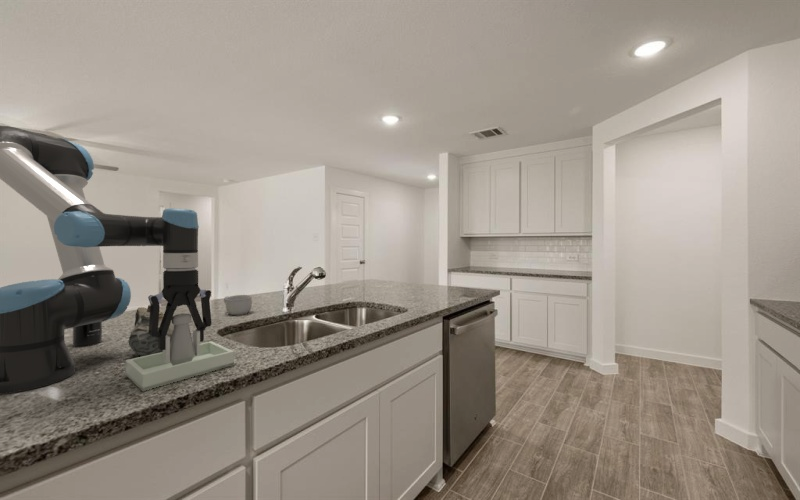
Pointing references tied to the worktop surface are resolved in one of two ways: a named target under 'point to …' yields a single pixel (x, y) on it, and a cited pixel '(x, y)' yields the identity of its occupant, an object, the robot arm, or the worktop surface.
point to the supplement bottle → (87, 334)
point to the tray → (177, 366)
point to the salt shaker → (181, 340)
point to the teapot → (146, 333)
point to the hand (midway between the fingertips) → (181, 357)
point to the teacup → (238, 304)
